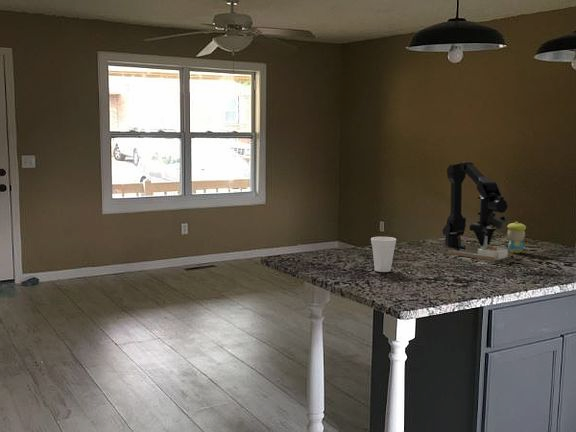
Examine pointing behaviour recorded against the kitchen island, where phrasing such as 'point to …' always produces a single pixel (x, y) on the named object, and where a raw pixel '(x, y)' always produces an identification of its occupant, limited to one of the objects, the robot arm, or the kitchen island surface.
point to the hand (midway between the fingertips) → (484, 245)
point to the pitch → (472, 253)
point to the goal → (498, 253)
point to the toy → (516, 237)
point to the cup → (383, 252)
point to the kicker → (483, 248)
